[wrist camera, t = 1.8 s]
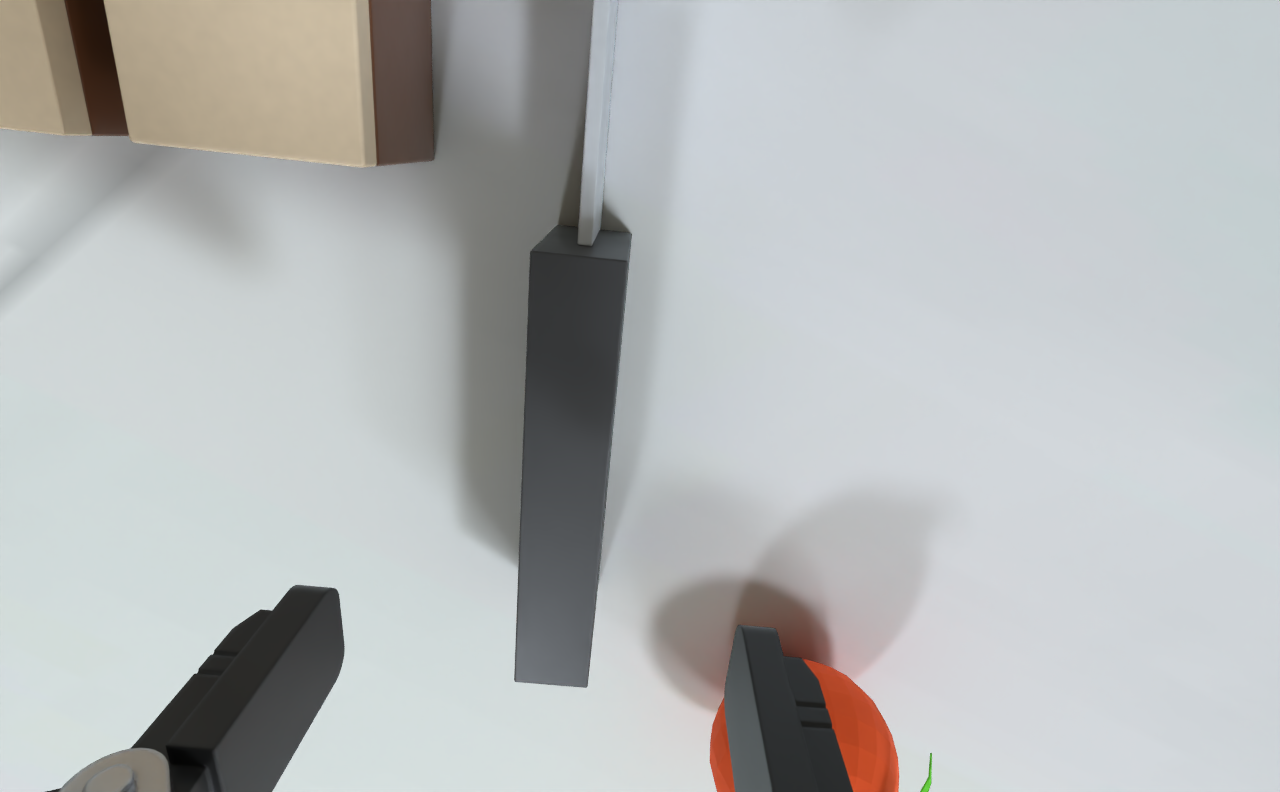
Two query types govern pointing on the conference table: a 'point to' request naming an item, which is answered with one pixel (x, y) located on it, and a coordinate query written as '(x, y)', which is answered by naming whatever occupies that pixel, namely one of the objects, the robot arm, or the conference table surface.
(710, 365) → the conference table surface
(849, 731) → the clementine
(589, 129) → the knife
